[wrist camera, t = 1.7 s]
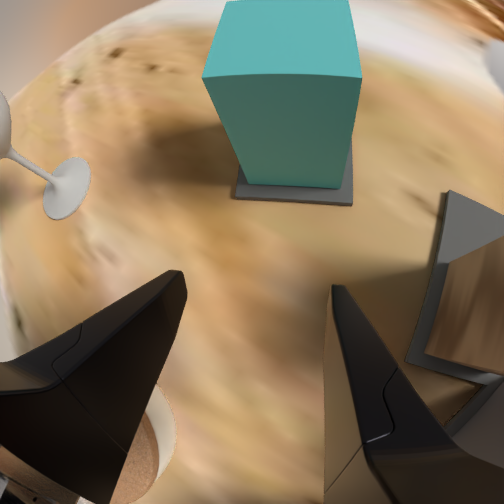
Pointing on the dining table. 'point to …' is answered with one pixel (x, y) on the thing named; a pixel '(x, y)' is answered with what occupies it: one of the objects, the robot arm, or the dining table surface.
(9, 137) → the wineglass
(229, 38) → the teal block
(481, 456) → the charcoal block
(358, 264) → the dining table surface
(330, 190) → the dark gray pads
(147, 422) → the lidded jar
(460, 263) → the walnut block
